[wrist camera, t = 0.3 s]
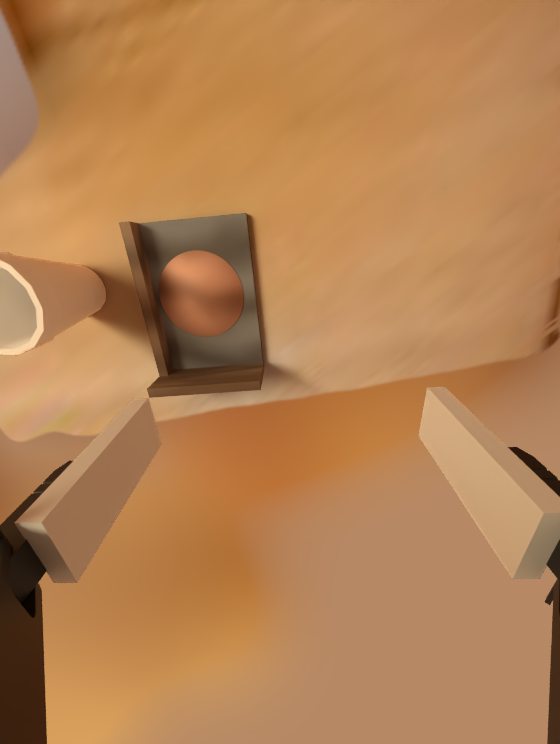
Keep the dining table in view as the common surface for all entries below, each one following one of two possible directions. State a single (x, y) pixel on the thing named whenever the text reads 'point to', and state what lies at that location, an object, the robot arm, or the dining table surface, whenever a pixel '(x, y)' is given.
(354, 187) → the dining table surface
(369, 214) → the dining table surface
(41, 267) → the foam cup
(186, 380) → the wooden-edged grey tray
